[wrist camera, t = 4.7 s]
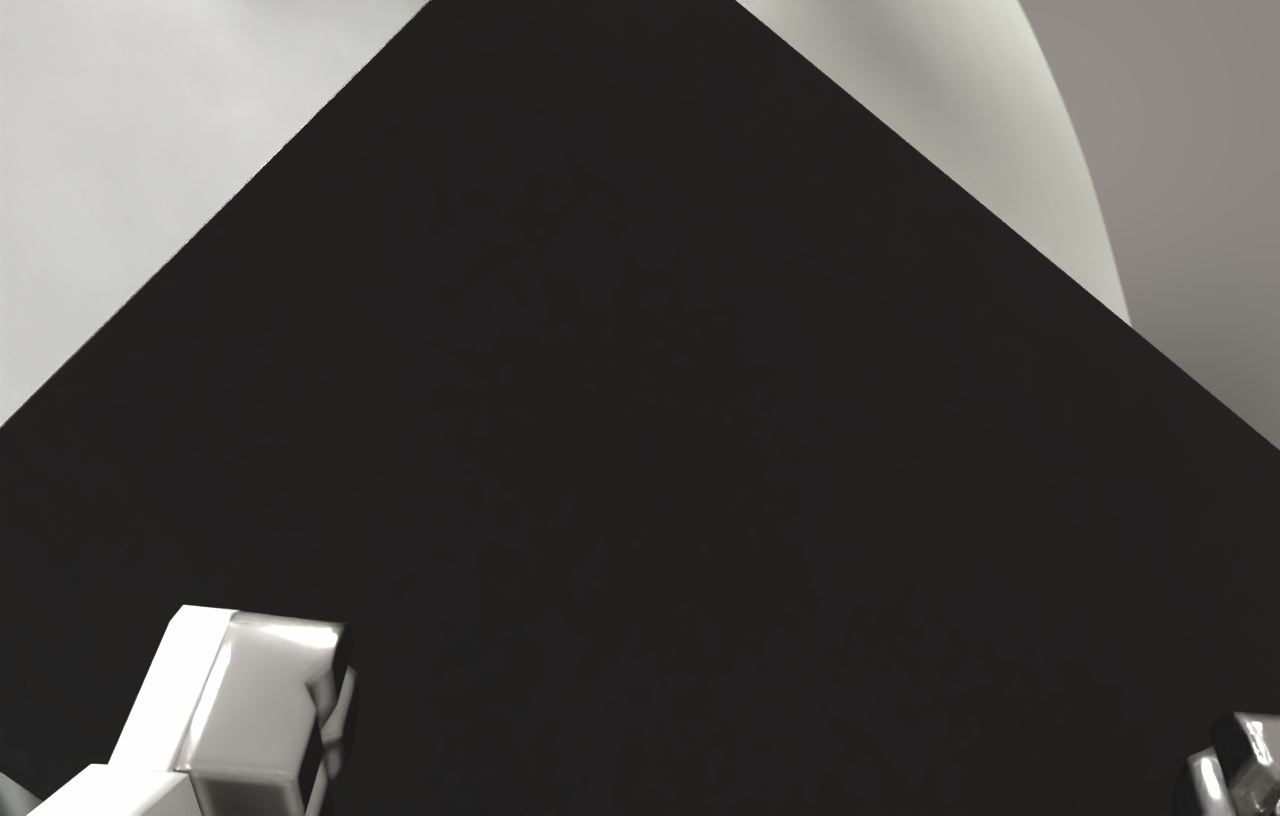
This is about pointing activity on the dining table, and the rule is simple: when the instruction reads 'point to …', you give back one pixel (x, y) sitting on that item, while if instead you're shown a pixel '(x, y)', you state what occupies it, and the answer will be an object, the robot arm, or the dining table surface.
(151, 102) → the dining table surface
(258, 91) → the dining table surface
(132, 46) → the dining table surface
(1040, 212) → the dining table surface
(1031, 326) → the microwave
